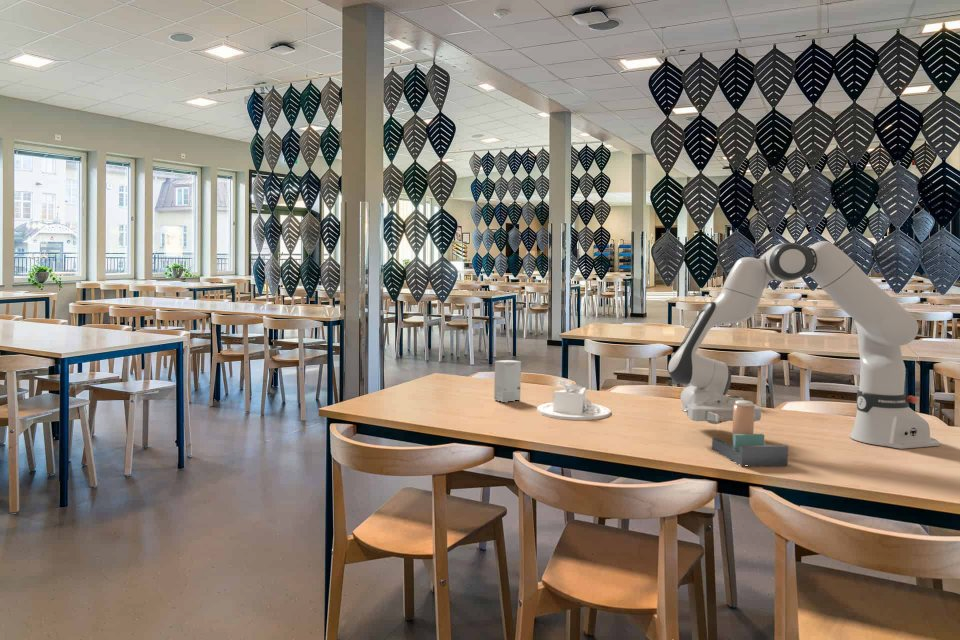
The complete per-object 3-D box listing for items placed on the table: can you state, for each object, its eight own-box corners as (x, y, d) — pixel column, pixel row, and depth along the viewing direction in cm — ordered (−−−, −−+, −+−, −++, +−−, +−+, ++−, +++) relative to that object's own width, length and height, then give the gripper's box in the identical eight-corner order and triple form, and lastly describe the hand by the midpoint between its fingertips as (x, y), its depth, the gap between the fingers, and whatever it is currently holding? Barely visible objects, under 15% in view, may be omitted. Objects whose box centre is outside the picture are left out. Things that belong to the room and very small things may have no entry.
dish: (590, 424, 208) (591, 389, 207) (523, 414, 222) (523, 380, 221) (622, 411, 228) (623, 379, 227) (558, 402, 242) (558, 372, 241)
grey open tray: (753, 448, 181) (754, 430, 181) (787, 466, 165) (788, 446, 164) (712, 448, 180) (712, 430, 179) (741, 466, 163) (742, 447, 163)
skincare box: (503, 403, 238) (503, 362, 237) (493, 400, 243) (493, 360, 242) (521, 400, 243) (521, 360, 242) (511, 398, 248) (511, 358, 246)
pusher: (760, 455, 173) (761, 433, 173) (768, 459, 170) (769, 437, 169) (732, 455, 172) (733, 434, 172) (739, 459, 169) (740, 437, 168)
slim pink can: (746, 450, 178) (748, 399, 177) (756, 456, 173) (758, 403, 172) (728, 451, 178) (730, 399, 177) (737, 456, 173) (739, 403, 172)
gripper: (679, 397, 191) (700, 407, 177) (746, 397, 193) (772, 407, 179) (678, 418, 191) (699, 430, 177) (745, 418, 193) (771, 429, 180)
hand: (736, 418), depth 178 cm, fingers open, 8 cm apart
